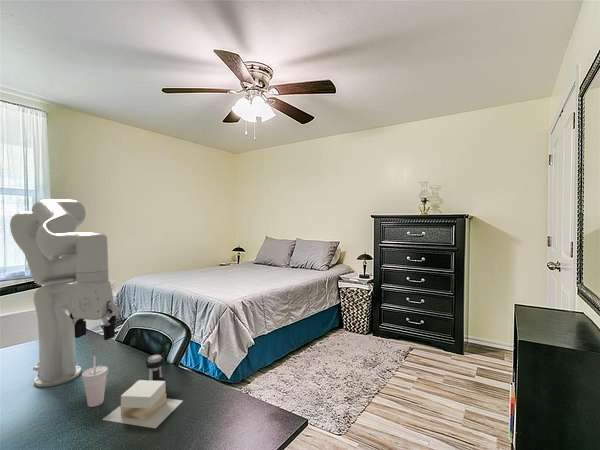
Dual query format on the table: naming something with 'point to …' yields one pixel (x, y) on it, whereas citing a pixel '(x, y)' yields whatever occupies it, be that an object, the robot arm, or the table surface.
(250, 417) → the table surface
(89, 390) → the smoothie
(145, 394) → the top slab
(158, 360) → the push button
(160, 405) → the bottom slab
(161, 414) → the felt mat
